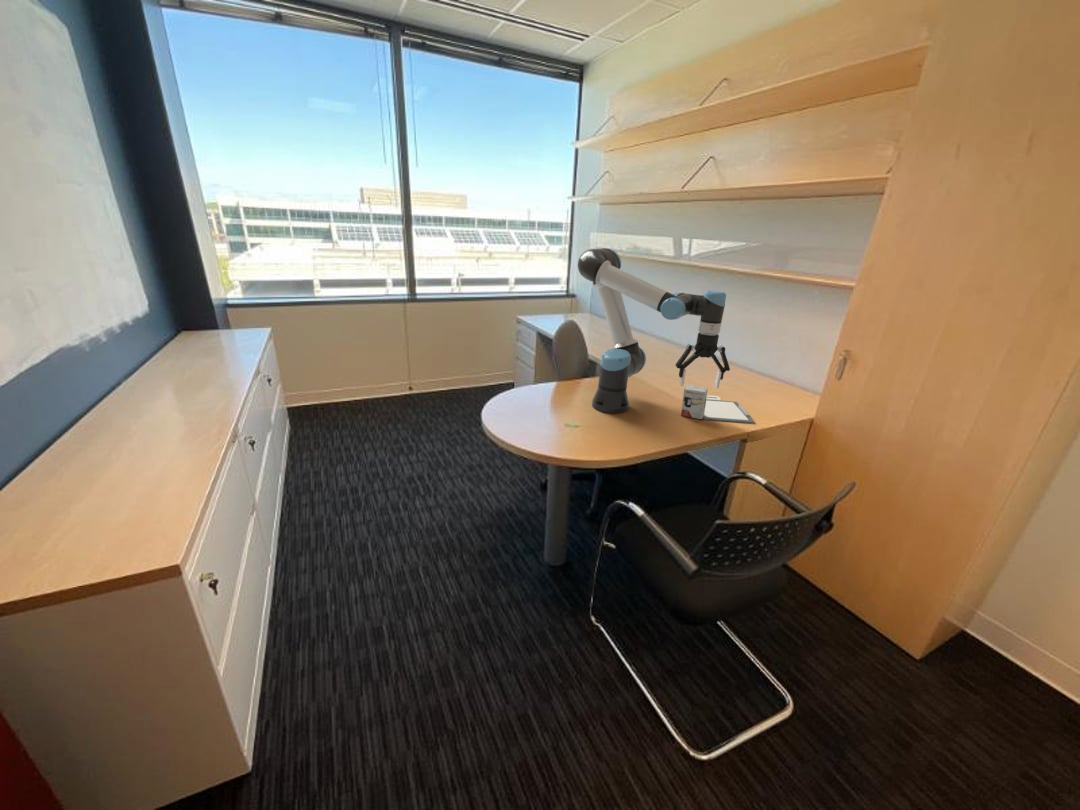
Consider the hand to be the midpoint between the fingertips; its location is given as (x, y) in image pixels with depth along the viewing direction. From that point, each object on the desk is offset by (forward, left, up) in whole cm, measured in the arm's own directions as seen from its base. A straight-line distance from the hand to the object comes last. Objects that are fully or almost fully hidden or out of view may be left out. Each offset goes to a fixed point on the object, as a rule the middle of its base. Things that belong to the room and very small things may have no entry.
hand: (698, 386), depth 174 cm
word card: (+14, +23, -13) cm, 30 cm away
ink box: (0, 0, -13) cm, 13 cm away
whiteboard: (+14, +8, -13) cm, 21 cm away
